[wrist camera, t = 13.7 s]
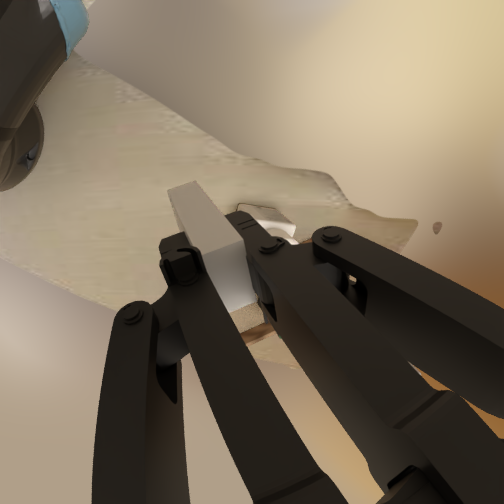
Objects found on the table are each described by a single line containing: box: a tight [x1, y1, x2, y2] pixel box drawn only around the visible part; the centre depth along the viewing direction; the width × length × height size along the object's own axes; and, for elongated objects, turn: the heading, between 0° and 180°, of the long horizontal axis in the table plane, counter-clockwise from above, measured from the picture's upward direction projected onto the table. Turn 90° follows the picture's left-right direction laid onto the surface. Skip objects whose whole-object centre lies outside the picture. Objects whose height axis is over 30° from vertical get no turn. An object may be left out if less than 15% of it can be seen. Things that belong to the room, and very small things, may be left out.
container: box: [237, 204, 299, 245], centre depth 50 cm, size 8×8×13 cm
